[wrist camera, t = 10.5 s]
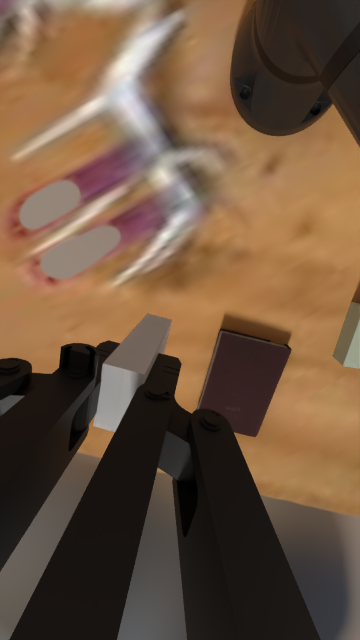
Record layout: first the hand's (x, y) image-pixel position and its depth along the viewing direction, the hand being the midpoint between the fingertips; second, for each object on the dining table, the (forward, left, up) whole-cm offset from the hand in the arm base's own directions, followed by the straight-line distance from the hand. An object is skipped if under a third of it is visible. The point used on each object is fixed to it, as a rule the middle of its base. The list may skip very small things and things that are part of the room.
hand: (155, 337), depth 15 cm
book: (+17, +14, -30) cm, 37 cm away
